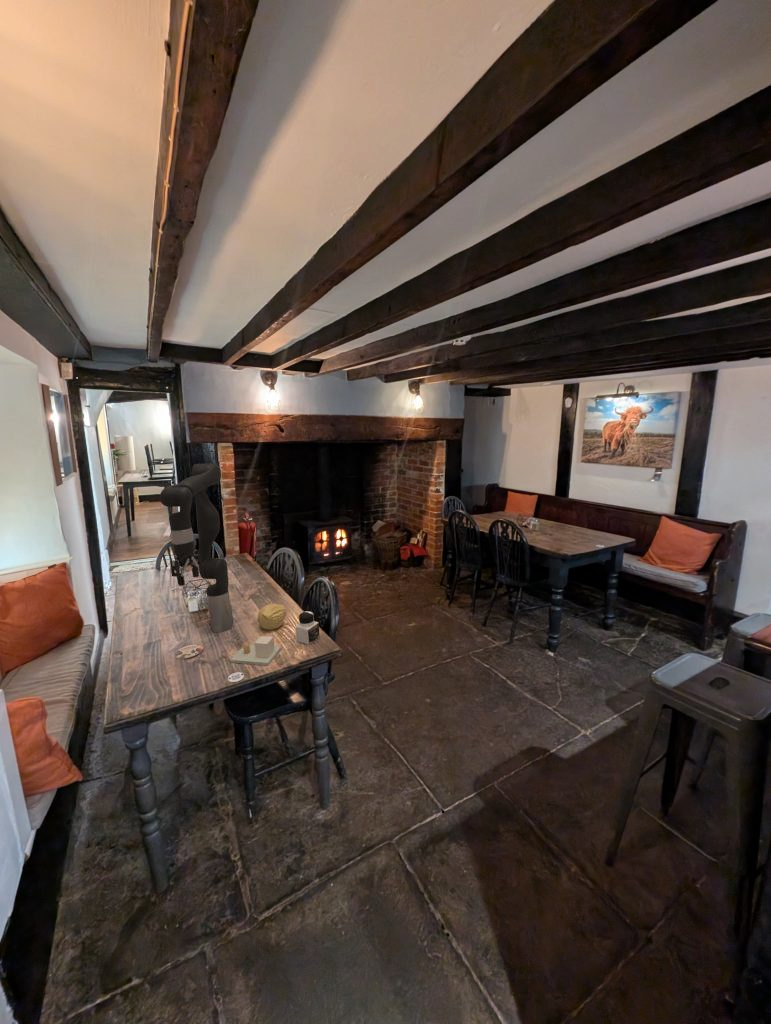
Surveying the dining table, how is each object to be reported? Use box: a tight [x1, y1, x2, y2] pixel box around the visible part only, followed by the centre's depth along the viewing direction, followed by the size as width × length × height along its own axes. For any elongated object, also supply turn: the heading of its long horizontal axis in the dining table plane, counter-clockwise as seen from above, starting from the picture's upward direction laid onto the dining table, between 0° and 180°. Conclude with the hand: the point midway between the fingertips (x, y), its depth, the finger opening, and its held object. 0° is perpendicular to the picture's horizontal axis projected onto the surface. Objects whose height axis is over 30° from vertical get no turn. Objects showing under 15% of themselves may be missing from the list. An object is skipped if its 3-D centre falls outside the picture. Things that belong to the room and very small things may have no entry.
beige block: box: [254, 635, 276, 658], centre depth 165 cm, size 5×5×6 cm
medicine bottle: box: [294, 611, 320, 645], centre depth 177 cm, size 7×7×12 cm
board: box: [229, 641, 283, 667], centre depth 166 cm, size 12×16×5 cm
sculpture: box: [257, 602, 287, 631], centre depth 190 cm, size 12×12×11 cm
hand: (189, 581), depth 159 cm, fingers open, 8 cm apart
